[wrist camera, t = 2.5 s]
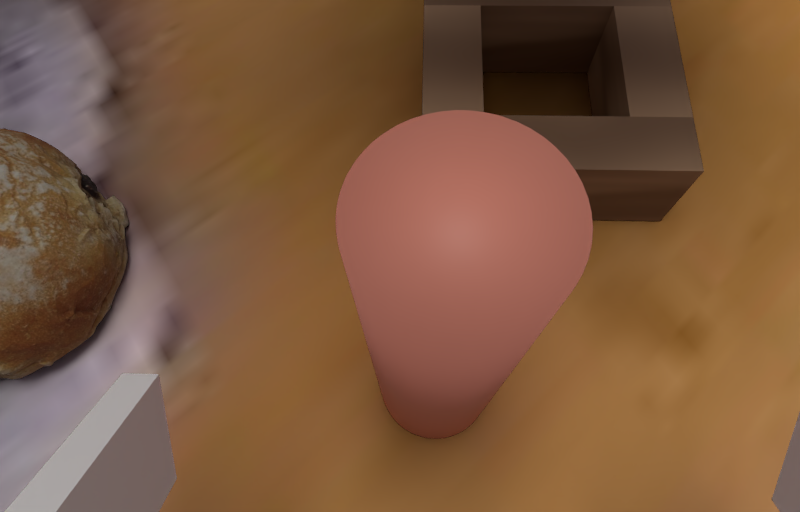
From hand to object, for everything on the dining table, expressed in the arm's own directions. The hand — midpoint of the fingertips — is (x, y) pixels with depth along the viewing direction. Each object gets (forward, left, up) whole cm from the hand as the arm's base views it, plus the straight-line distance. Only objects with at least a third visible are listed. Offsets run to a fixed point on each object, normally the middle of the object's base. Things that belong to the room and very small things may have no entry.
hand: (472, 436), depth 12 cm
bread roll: (-14, -13, -10) cm, 22 cm away
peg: (-3, +1, -9) cm, 10 cm away
